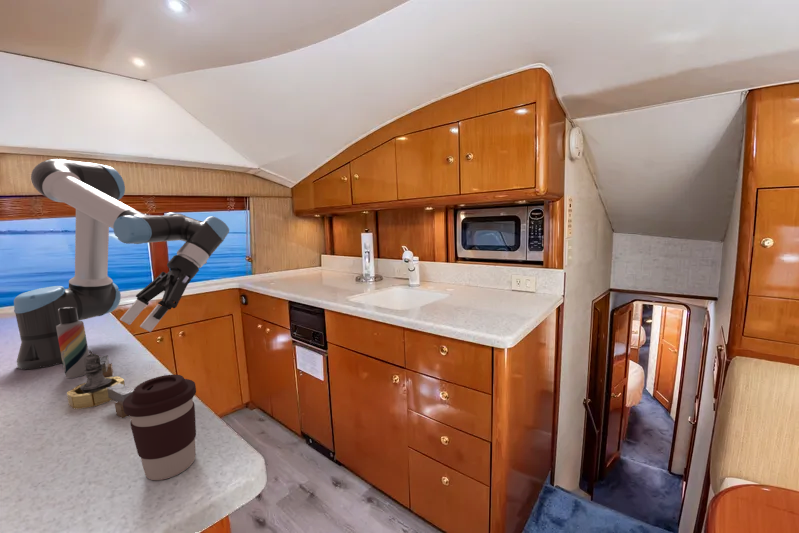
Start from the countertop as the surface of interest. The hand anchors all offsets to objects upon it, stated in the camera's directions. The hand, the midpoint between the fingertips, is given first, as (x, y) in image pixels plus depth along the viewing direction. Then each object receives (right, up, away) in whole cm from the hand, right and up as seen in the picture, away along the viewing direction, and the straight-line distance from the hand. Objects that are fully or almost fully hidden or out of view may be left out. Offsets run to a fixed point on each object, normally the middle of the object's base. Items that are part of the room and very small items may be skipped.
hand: (134, 325), depth 91 cm
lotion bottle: (-23, -16, +10) cm, 30 cm away
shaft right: (+8, -17, -13) cm, 22 cm away
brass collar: (-5, -17, -6) cm, 18 cm away
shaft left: (-13, -16, +6) cm, 21 cm away
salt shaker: (-5, -17, -5) cm, 18 cm away
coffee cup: (+31, -19, -32) cm, 48 cm away
